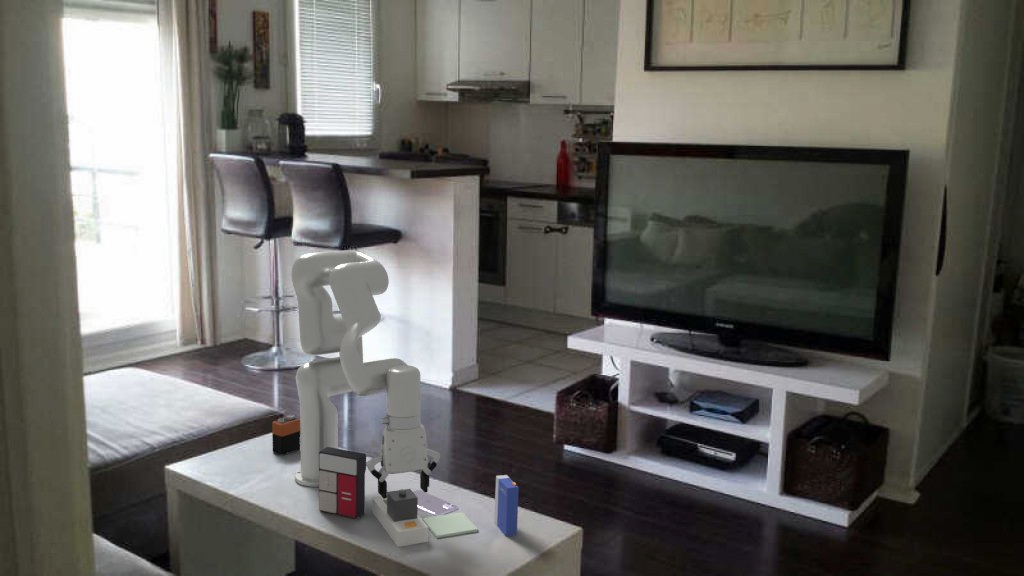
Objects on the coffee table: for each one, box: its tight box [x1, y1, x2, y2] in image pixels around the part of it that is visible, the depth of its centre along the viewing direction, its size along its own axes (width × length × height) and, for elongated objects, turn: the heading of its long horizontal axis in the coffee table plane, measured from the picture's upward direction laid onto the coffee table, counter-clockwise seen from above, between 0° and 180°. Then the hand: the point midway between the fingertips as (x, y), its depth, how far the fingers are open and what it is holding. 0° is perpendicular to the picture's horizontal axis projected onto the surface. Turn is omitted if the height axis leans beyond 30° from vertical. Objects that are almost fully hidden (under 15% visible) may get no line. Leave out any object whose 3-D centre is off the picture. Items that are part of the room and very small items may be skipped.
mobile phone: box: [412, 489, 459, 516], centre depth 225 cm, size 8×1×15 cm
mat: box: [421, 511, 479, 539], centre depth 212 cm, size 10×10×1 cm
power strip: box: [371, 496, 429, 548], centre depth 211 cm, size 20×7×4 cm, turn 25°
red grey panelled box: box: [318, 447, 367, 519], centre depth 216 cm, size 11×4×15 cm, turn 68°
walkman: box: [493, 474, 520, 537], centre depth 211 cm, size 8×3×12 cm, turn 21°
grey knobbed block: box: [387, 488, 419, 522], centre depth 209 cm, size 6×6×8 cm
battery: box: [271, 414, 301, 456], centre depth 256 cm, size 4×7×10 cm, turn 145°
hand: (403, 493), depth 208 cm, fingers open, 9 cm apart
